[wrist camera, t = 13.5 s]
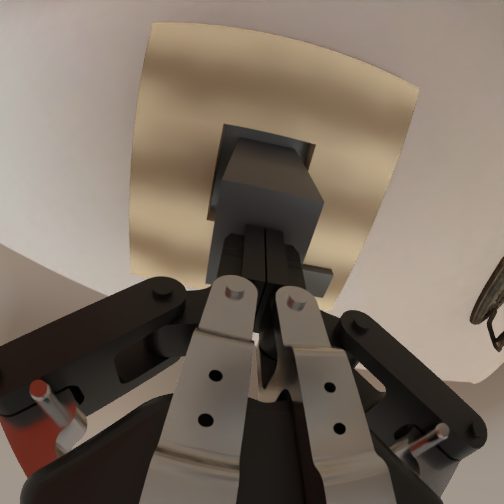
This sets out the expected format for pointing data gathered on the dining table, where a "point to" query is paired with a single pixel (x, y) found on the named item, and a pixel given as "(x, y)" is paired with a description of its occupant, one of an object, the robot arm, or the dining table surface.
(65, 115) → the dining table surface
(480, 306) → the clothes iron
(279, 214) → the plug
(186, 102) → the socket board
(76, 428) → the robot arm
